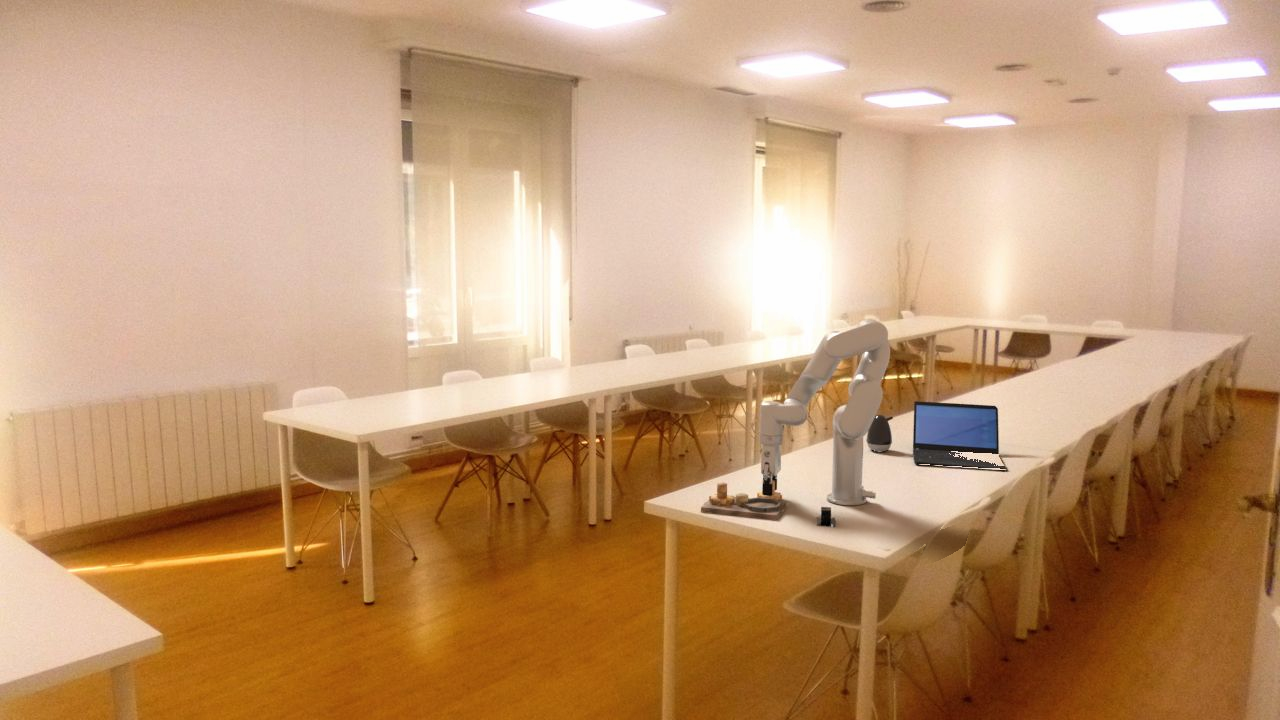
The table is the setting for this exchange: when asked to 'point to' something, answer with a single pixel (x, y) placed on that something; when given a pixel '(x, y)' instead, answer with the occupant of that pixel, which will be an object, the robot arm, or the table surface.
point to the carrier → (743, 505)
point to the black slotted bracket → (826, 518)
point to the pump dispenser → (879, 434)
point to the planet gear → (775, 495)
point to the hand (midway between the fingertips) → (769, 492)
